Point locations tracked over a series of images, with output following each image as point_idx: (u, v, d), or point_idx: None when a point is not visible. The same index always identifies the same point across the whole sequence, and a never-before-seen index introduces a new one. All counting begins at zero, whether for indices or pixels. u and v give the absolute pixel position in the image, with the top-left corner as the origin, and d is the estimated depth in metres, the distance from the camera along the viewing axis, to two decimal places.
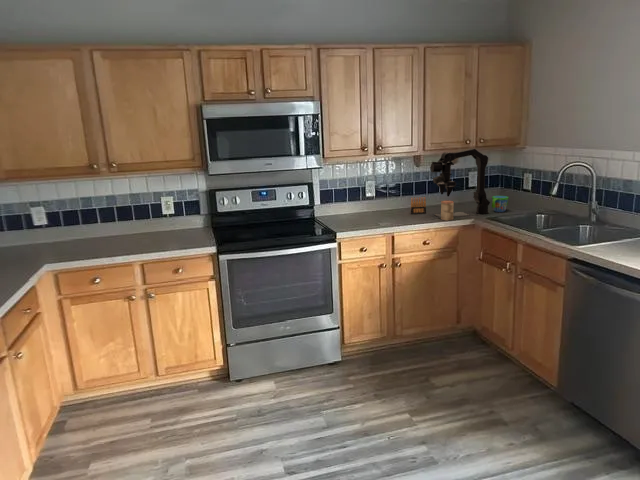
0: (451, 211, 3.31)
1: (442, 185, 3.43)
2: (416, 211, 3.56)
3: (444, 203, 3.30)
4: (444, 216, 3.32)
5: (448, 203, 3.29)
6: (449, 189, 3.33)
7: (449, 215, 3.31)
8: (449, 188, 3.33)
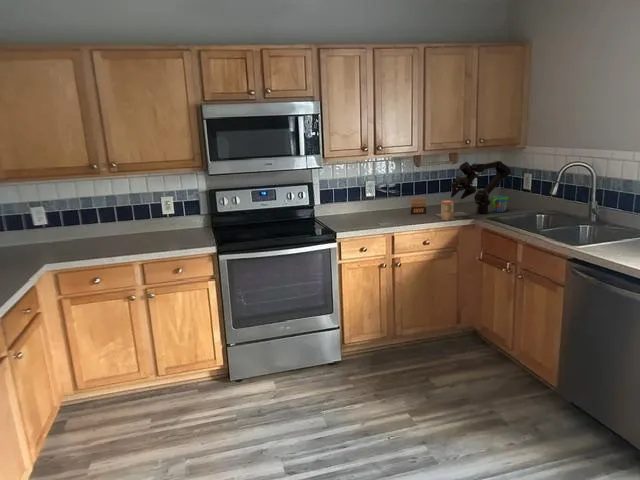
0: (451, 211, 3.31)
1: (456, 190, 3.40)
2: (416, 211, 3.56)
3: (444, 203, 3.30)
4: (444, 216, 3.32)
5: (448, 203, 3.29)
6: (466, 193, 3.31)
7: (449, 215, 3.31)
8: (466, 192, 3.31)
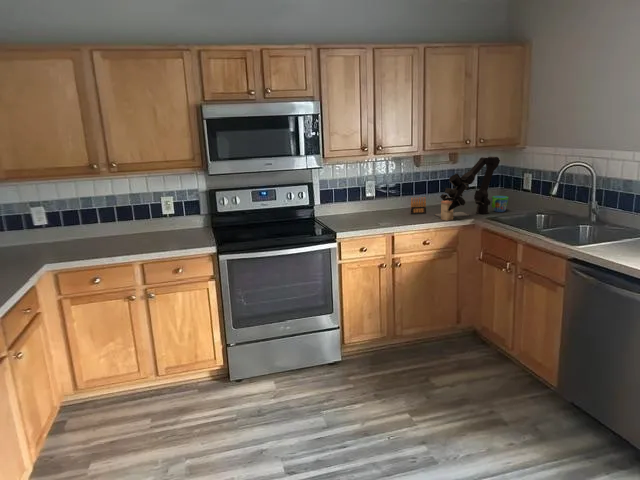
0: (451, 211, 3.31)
1: None
2: (416, 211, 3.56)
3: (444, 203, 3.30)
4: (444, 215, 3.32)
5: (448, 203, 3.29)
6: (454, 205, 3.30)
7: (449, 214, 3.31)
8: (454, 204, 3.30)
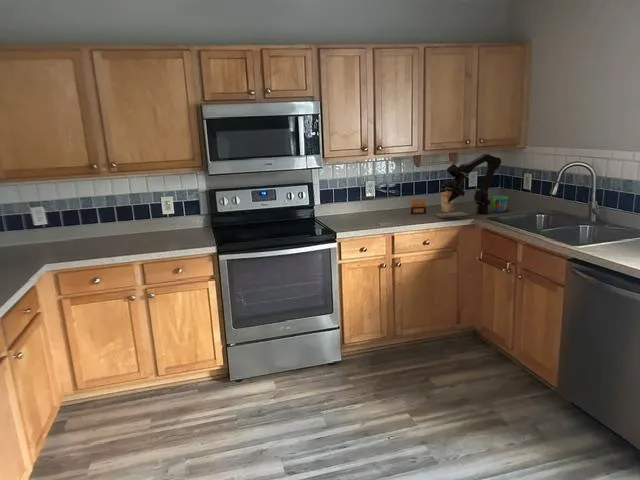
0: (451, 202, 3.32)
1: None
2: (416, 211, 3.56)
3: (443, 195, 3.30)
4: (444, 207, 3.33)
5: (447, 195, 3.29)
6: (453, 196, 3.30)
7: (449, 206, 3.32)
8: (454, 195, 3.30)
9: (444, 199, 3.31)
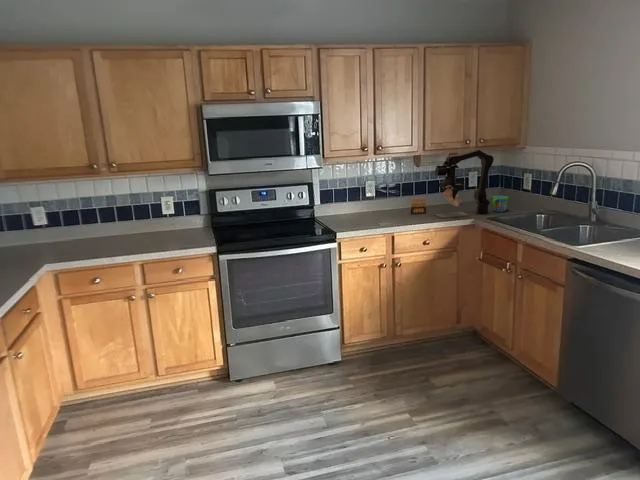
0: (456, 196, 3.41)
1: None
2: (416, 211, 3.56)
3: (446, 196, 3.40)
4: (453, 203, 3.44)
5: (449, 194, 3.38)
6: (455, 191, 3.38)
7: (457, 200, 3.42)
8: (455, 190, 3.38)
9: (449, 198, 3.41)
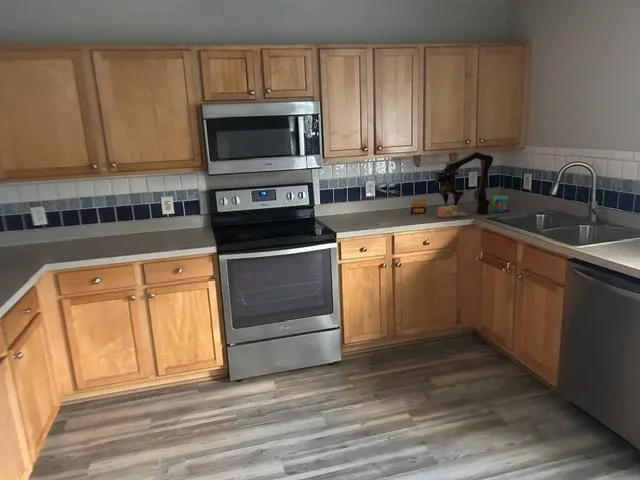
0: (451, 209, 3.41)
1: (446, 195, 3.47)
2: (416, 211, 3.56)
3: None
4: None
5: (444, 214, 3.39)
6: (457, 198, 3.37)
7: (453, 211, 3.42)
8: (457, 197, 3.37)
9: None
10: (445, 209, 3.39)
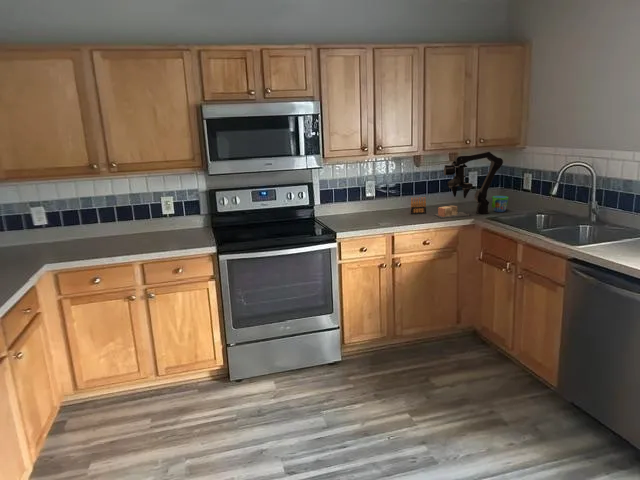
0: (451, 209, 3.41)
1: (454, 187, 3.48)
2: (416, 211, 3.56)
3: None
4: None
5: (444, 214, 3.39)
6: (466, 191, 3.39)
7: (453, 211, 3.42)
8: (466, 190, 3.39)
9: None
10: (445, 209, 3.39)
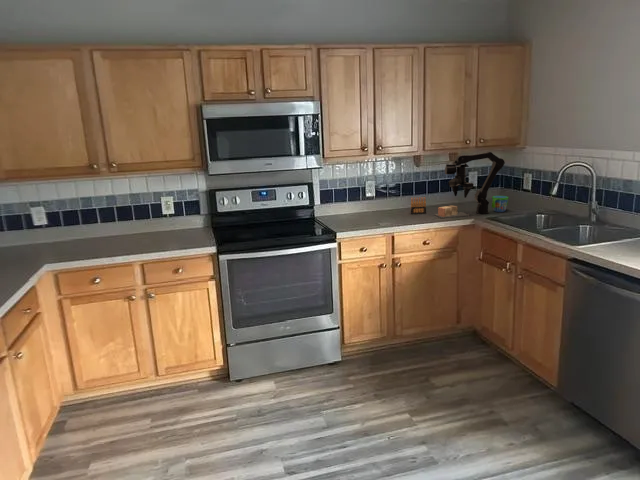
0: (451, 209, 3.41)
1: (455, 187, 3.49)
2: (416, 211, 3.56)
3: None
4: None
5: (444, 214, 3.39)
6: (466, 190, 3.40)
7: (453, 211, 3.42)
8: (466, 189, 3.40)
9: None
10: (445, 209, 3.39)
